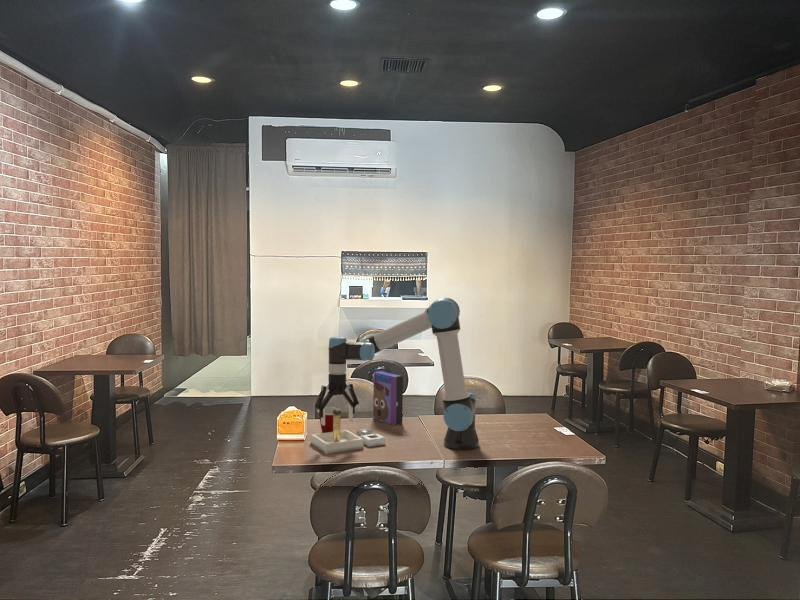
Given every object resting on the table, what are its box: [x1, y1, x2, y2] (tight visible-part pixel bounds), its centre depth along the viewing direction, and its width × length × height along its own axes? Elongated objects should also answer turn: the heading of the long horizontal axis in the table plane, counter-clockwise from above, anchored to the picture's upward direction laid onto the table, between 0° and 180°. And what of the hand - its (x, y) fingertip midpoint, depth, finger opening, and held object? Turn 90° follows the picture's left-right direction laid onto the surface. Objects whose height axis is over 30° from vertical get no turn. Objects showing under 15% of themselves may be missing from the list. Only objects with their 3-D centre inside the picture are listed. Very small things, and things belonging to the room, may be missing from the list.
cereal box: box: [372, 371, 404, 426], centre depth 308 cm, size 17×5×24 cm, turn 40°
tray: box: [310, 429, 364, 455], centre depth 264 cm, size 17×17×4 cm
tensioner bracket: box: [355, 428, 386, 448], centre depth 272 cm, size 16×8×4 cm, turn 30°
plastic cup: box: [317, 406, 341, 433], centre depth 280 cm, size 11×11×12 cm
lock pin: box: [333, 409, 342, 442], centre depth 263 cm, size 4×4×14 cm
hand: (337, 423), depth 263 cm, fingers open, 12 cm apart
